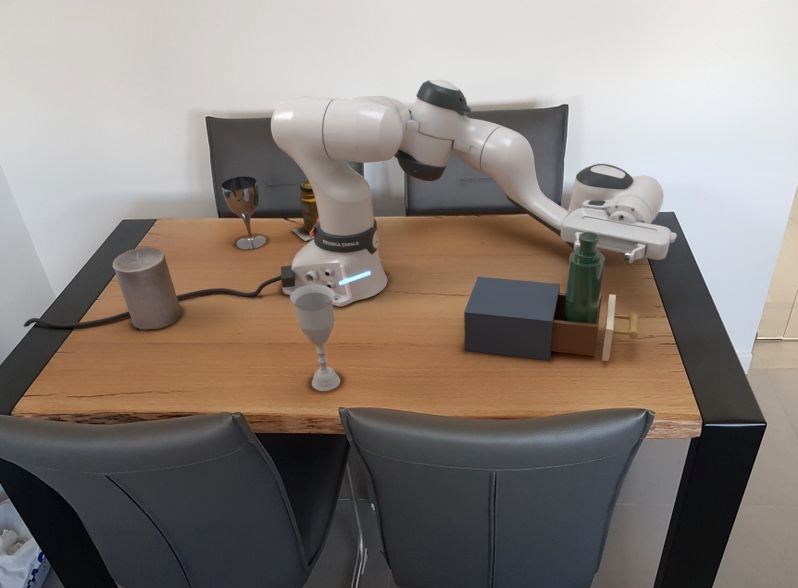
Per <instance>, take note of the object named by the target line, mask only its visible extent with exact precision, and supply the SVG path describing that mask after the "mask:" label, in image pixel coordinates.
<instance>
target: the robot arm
mask: <svg viewBox="0 0 798 588" xmlns="http://www.w3.org/2000/svg"><path fill="white" fill-rule="evenodd" d="M466 113H472V108H471V107H470V106H468V102H467V98H466V96H465V95H464V93H463V92H462V90H461V89H460V88H458V87H457V86H455V85H454V84H453V83H452V82H449V81H447V80H443V79H433V80H425V81H424V82H423V83H422V84H421V85H420V87H419V88H418V91H417V93H416V100H415V102H414V105H413V107H412V109H411V112H410V110H409V108H408V107H407V106H406V105H405V104H404V103H403V102H402V101H400V100H398V99H396V98H394V97H390V96H387V95H386V96H385V95H368V96H357V97H354V98H352V99H348V98H330V97H317V96H300V97H294V98H288V99H284V100H282V101H280V102H279V103H278V104H277V105H276V106H275V108H274V110H273V112H272V115H271V119H270V131H271V135H272V138H273V140H274V143H275V144H276V145H277V147H278V148H279V149H280V150H281V151H283V152H284V153H285V154H286V155H287V156H289V157H290V158H291V159H292V160H293V161H294V162H295V163H296V164H297V166H298V167H299V168H300V170H301V171H302V173H303V174H304V176H305V177H306V180H307V181H309V183H310V185H311V187H312V189H313V193H314V196H315V200H316V205H317V210H318V216H319V218H318V219H317V223H316V224H315V225H314V226H313V227H312V228H313V229H312V231H311V232H310V234H311V235H310V238H312V237H313V236H314V238H312V239H310V241H308V242H307V243H306V244H305V245H304V246H302V247H301V248H300V249H299V250H298V251H297V252H296V254H295V255H294V257H293V259H292V263H291V265H283V266H280V275H278V276H275V277H272V278H270V279H268V280H265V281H263V282H262V283H261V284H260V285H259V286H258V287H257V288H256V290H255V291H252V292H242V291H238V290H234V289H230V288H224V287H217V288H216V287H215V288H206V289H199V290H196V291H191V292H186V293H182V294H179V295H176V296H177V299H178V301H180V300H183V299H187V298H191V297H196V296H197V297H198V296H201V295H207V294H216V293H222V294H230V295H234V296H237V297H244V298H253V297H257V296H258V295H259V294H260V293H261V292H262V290H263V289H264V288H266V287H267V286H269V285H272V284H274V283H277V282H280V281H281V286H282V293H283V294H284V295H287V296H290V295H291V294H292V292H293V291H295V290H296V289H298V288H300V287H303V286H307V285H323V286H327V287H329V288H331V289H332V290H333V292H334V297H333V300H332V305H333V307H345V306H347V305H350V304H352V303H354V302H357V301H361V300H365V299H369V298H371V297H373V296H376V295H378V294H379V293H381V292H382V291H383V290H384V289H385V288H386V287H387V284H388V281H389V280H388V276H387V274H386V271H385V269H384V267H383V264H382V260H381V256H380V251H379V243H380V241H379V240H380V239H379V238H380V237H379V230H378V224H377V220H376V218H375V216H374V205H373V195H372V188H371V185H370V183H369V182H368V180H367V179H366V177H364V176H363V175H362V174H360V173H359V172H357V171H356V170H354V169H353V168H352V167H351V166H350V164H349V163H348V162H351V163H361V164H362V163H363V164H369V163H378V162H385V161H390V160H391V159H393V158H395V159H397V163H398V165H399V167H400V169H401V170H402V171H403V172H404V174H405V175H407V176H409V177H410V178H412V179H414V180H417V181H420V182H436V181H438V180H439V179H441V177H442V176H443V174H444V173H445V170H446V168H447V162H448V160H449V158H450V156H451V154H452V153H453V155H454V156H455V157H456V158H457V159H459V160H460V161H461V162H463V163H464V164H466V165H467V166H468V167H470V168H472V169H474V170H475V171H478V172H480V173H482V174H483V175H485V176H488V177H490V179H492V180H493V181H494V182H496V184H498V185H499V187H500V188H501V189H502V191H503V192H504V194H505V196H506V199H507V200H508V201H509V202H510V203H511V204H512V205H514V206H515V207H516V208H517V209H519V210H521V211H522V212H523V213H525V214H526V215H528V216H530V217H531V218H532V219H533V220H535V221H536V222H538V223H539V224H541V225H543V227H546V228H547V229H548V230H550V231H551V232H553V233H554V234H556V235H557V236H558V237H559V238H560V239H561V240H562V241H563V242H565V243H566V244H567V245H568V246H569V247H570V248H572V249H573V252H574V251H575V250H576V248H578V247H580V241H579V235H580V234H581V233H584V232H593V233H596V234H598V235H599V242H598V243H597V248H598V249H599V250H601V249H602V250H606V251H612V252H616V253H620V254H624V256H623V257H624V258H623V262H625V263H629V264H633V262H634V261H636V260H639V259H643V258H645V259H649V260H650V259H651V260H655V261H662V260H664V259H666V257H667V255H668V252H669V246H670V244H673V243H675V241H676V239H677V237H678V235H677V232H673V231H672V229H670V228H668V226H667V227H666V226H663V225H659V224H653V222H654V220H655V219H656V218H657V216H658V215H659V213H660V211H661V208H662V205H663V203H664V190H663V187H662V185H661V184H660V182H659V181H658V180H657V179H656V178H654V177H652V176H649V175H644V174H643V175H635V176H632V175H631V174H629V173H628V172H627V171H625V170H624V169H622V168H620V167H617V166H615V165H612V164H607V163H596V164H595V163H594V164H592V165H589V166H587V167H584V168H583V169H581V170H580V171H579V172H577V173H576V175H575V180H574V183H573V188H572V191H571V195H570V202H569V206H568V209H565V208H563V207H562V206H561V205H559V204H557V203H556V202H554V201H553V200H551V199H550V198H548V197H547V196H546V195H545V194H544V193H543V192H542V190H541V188H540V186H539V182H538V178H537V174H536V166H535V156H534V151H533V149H532V146H531V145H530V142H529V141H528V139H527V138H526V137H524V135H523V134H520V133H519V131H516V130H514V129H511V128H508V127H506V126H503V125H500V124H497V123H494V122H492V121H487V120H482V119H478V118H471V117H468V116H467V115H466ZM127 317H131V316H130V313H129V311H125V312H122V313H119V314H115V315H112V316H108V317H105V318H100V319H95V320H94V319H93V320H89V321H82V322H70V323H69V322H67V323H63V322H62V323H60V322H54V321H50V320H46V319H43V318H39V317H32V318H29V319H28V320H26V321H25V322H24V323H23V327H24V328H28V327H29V326H30V325H32V324H35V323H38V324H41V325H42V324H43V325H45V326H49V327H52V328H57V329H72V328H73V329H74V328H83V327H84V328H85V327H92V326H97V325H100V324H101V325H103V324H106V323H107V324H108V323H110V322H111V323H112V322H114V321H118V320H121V319H125V318H127Z"/></svg>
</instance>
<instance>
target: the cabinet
mask: <svg viewBox="0 0 798 588" xmlns="http://www.w3.org/2000/svg"><path fill="white" fill-rule="evenodd" d="M560 290H561V283H554V282H544V281H543V282H542V281H533V280H521V279H520V280H519V279H509V278H500V277H499V278H497V277H488V276H487V277H486V276H477V277H476V280H475V282H474V285H473V288H472V291H471V293H470V296H469V298H468V302H467V304H466V306H465V309H464V311H463V315H464V316H463V317H464V318H463V319H464V321H463V324H464V325H463V326H464V327H463V328H464V351H465V352H471V353H482V354H490V355H496V356H497V355H499V356H507V357H516V358H525V359H532V360H542V361H551V356H552V352H553V351H551V343H552V329H553V320H554V315H555V310H556V305H557V300H558V295H559V293H561V292H560Z"/></svg>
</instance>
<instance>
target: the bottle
mask: <svg viewBox="0 0 798 588" xmlns="http://www.w3.org/2000/svg"><path fill="white" fill-rule="evenodd" d="M579 241H580V247H578V248H576V250H575V251H574V250H573V251H572V252H571V253H570V254H569V258H568V268H567V280H566V290H565V291H566V292H565V293H566V302H565V313H564V321H569V322H579V323H589V324H597V320H598V312H599V304H600V296H602V295H601V294H602V286H603V279H604V269H605V261H606V257H605V255H604V254H603V253H601V249H598V248H597V243H598V242H599V235H598V234H596V233H593V232H584V233H581V234H580V235H579Z"/></svg>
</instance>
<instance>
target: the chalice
mask: <svg viewBox="0 0 798 588" xmlns="http://www.w3.org/2000/svg"><path fill="white" fill-rule="evenodd" d="M333 297H334V292H333V290H332V289H331V288H329V287H327V286H323V285H307V286H303V287H300V288H298V289H296V290H295V291H293V292H292V294H291V295H289V300H290V302H291V303H292V304H293V305H294V310H295V316H296V321H297V324H298V326H299V328H300V330H301V331H302V333H303V334H304V336H306V338H307V339H308V340H309V342H310V343H311V344H313V345H316V346H317V348H316V350H315V351H316V354H317V355H318V359H317V363H318V364H319V365H320V367H319V368H317V370H316V371H315V372H314V373H313V377H312V381H311V386H312V388H314V389H315V390H317V391H320V392H328V391H332V390H334V389H336V388H337V387H338V386H340V383H341V378H340V377H339V375H338V374H337V372H336V371H335V369H333V368H332V367H330V366H327V362H328V361H329V359H328V358H327V357H326V356H325V354H326V353H327V350H326V349H325V348H324V344H326V343H327V342H328V340H329V338H330V336H331V333H332V331H333V327H334V324H335V312H334V305H332V300H333Z"/></svg>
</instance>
